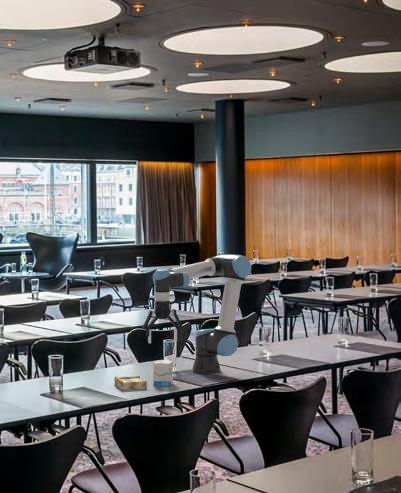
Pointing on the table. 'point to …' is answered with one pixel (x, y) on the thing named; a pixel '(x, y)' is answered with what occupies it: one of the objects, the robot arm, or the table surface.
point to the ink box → (162, 373)
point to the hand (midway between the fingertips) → (162, 342)
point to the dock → (130, 383)
